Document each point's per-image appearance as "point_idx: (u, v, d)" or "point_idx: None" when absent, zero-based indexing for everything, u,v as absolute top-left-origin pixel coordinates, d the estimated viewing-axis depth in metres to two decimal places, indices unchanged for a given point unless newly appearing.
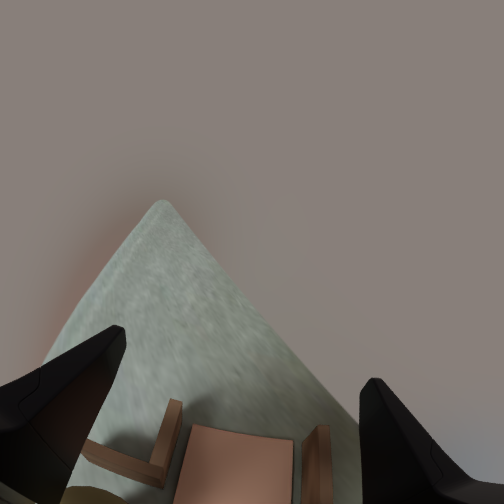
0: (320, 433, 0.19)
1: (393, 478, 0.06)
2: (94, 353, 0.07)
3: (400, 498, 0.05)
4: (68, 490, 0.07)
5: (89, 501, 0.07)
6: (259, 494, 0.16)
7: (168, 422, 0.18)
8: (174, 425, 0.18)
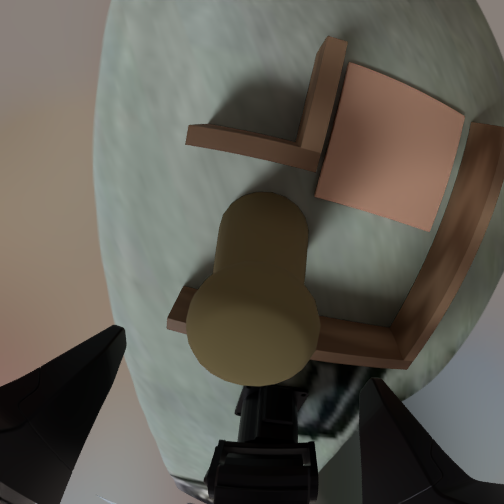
0: None
1: (393, 478, 0.06)
2: (94, 353, 0.07)
3: (400, 498, 0.05)
4: (215, 307, 0.09)
5: (250, 323, 0.09)
6: (416, 180, 0.16)
7: (328, 76, 0.11)
8: (337, 81, 0.11)
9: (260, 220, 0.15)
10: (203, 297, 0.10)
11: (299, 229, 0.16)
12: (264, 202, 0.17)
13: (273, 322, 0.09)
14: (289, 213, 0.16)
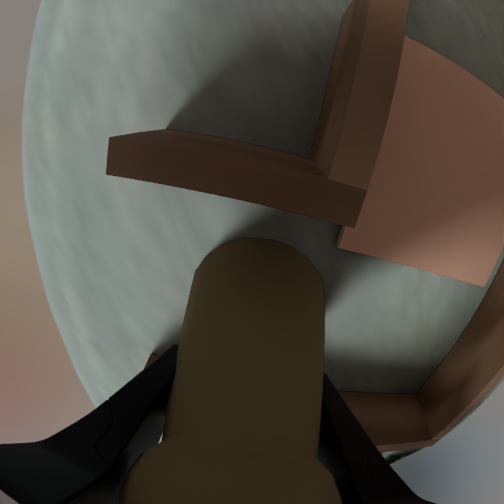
0: None
1: None
2: (165, 377, 0.07)
3: None
4: None
5: None
6: (481, 219, 0.10)
7: (383, 39, 0.05)
8: (399, 50, 0.05)
9: (248, 310, 0.08)
10: None
11: (314, 310, 0.10)
12: (256, 263, 0.10)
13: None
14: (298, 282, 0.10)
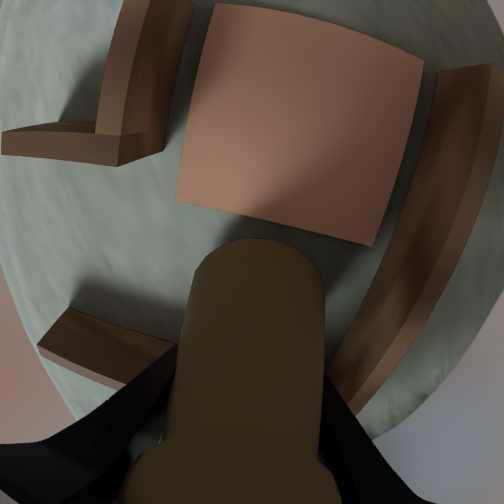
0: (491, 84, 0.05)
1: None
2: (165, 377, 0.07)
3: None
4: None
5: None
6: (340, 163, 0.11)
7: (129, 21, 0.06)
8: (141, 23, 0.06)
9: (248, 309, 0.08)
10: None
11: (314, 309, 0.10)
12: (257, 263, 0.10)
13: None
14: (298, 282, 0.10)
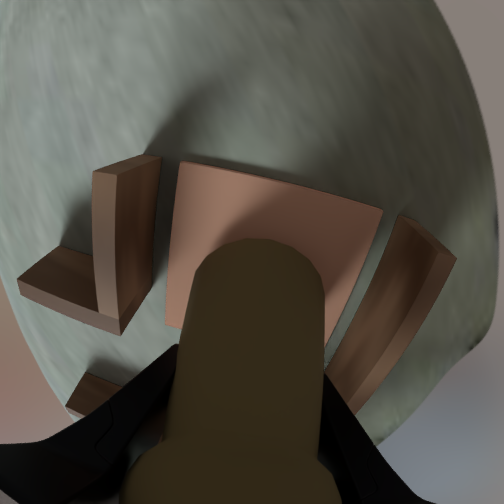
0: (431, 273, 0.09)
1: None
2: (165, 377, 0.07)
3: None
4: None
5: None
6: None
7: (102, 233, 0.09)
8: (113, 238, 0.09)
9: (248, 310, 0.08)
10: None
11: (314, 310, 0.09)
12: (256, 263, 0.10)
13: None
14: (298, 282, 0.10)
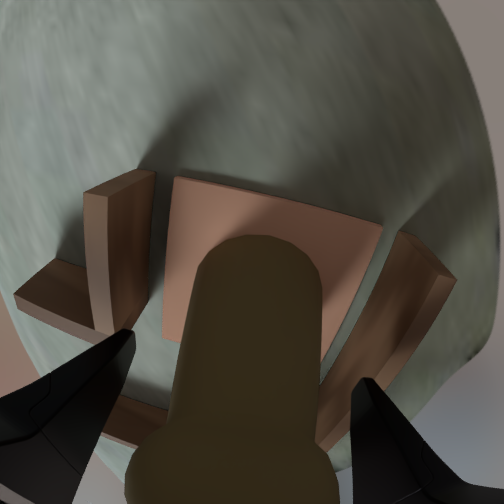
0: (430, 295, 0.09)
1: (383, 480, 0.06)
2: (105, 357, 0.07)
3: (390, 500, 0.05)
4: None
5: None
6: None
7: (95, 255, 0.09)
8: (107, 260, 0.09)
9: (248, 300, 0.09)
10: (137, 491, 0.04)
11: (312, 301, 0.10)
12: (256, 257, 0.11)
13: None
14: (296, 275, 0.10)
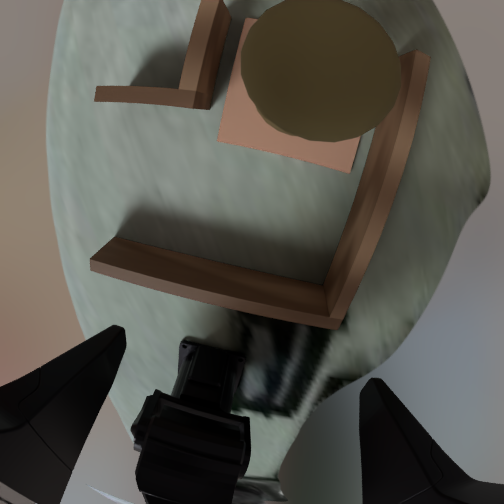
0: (416, 62, 0.11)
1: (393, 478, 0.06)
2: (94, 353, 0.07)
3: (400, 498, 0.05)
4: (287, 3, 0.06)
5: (329, 10, 0.05)
6: None
7: (201, 27, 0.11)
8: (209, 29, 0.11)
9: None
10: None
11: None
12: None
13: (355, 14, 0.05)
14: None
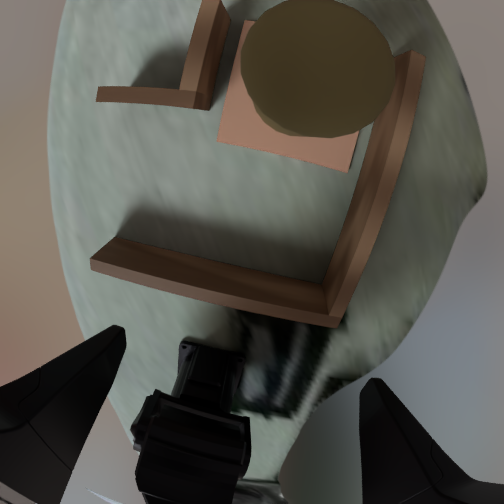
0: (411, 62, 0.11)
1: (393, 478, 0.06)
2: (94, 353, 0.07)
3: (400, 498, 0.05)
4: (284, 5, 0.06)
5: (325, 11, 0.06)
6: None
7: (202, 29, 0.12)
8: (209, 31, 0.12)
9: None
10: (268, 10, 0.06)
11: None
12: None
13: (349, 15, 0.06)
14: None
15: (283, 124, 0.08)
